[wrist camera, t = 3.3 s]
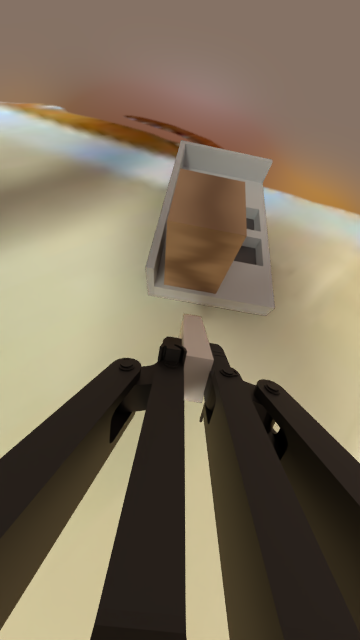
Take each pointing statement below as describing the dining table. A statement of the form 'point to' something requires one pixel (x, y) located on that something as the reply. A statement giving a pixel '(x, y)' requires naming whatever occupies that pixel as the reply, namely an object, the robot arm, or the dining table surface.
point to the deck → (253, 257)
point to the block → (204, 230)
